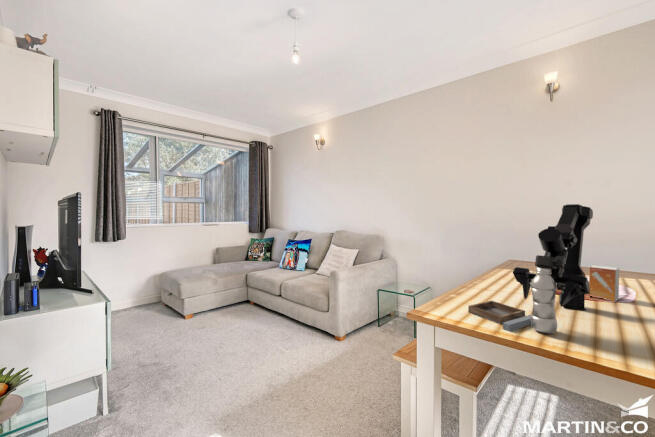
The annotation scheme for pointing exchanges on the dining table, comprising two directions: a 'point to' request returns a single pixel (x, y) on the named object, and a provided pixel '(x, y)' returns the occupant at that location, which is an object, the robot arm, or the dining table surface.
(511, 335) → the dining table surface
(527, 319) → the door edge strip
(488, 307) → the brown square tray
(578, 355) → the dining table surface
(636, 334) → the dining table surface
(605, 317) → the dining table surface
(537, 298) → the plastic bottle
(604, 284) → the small box
